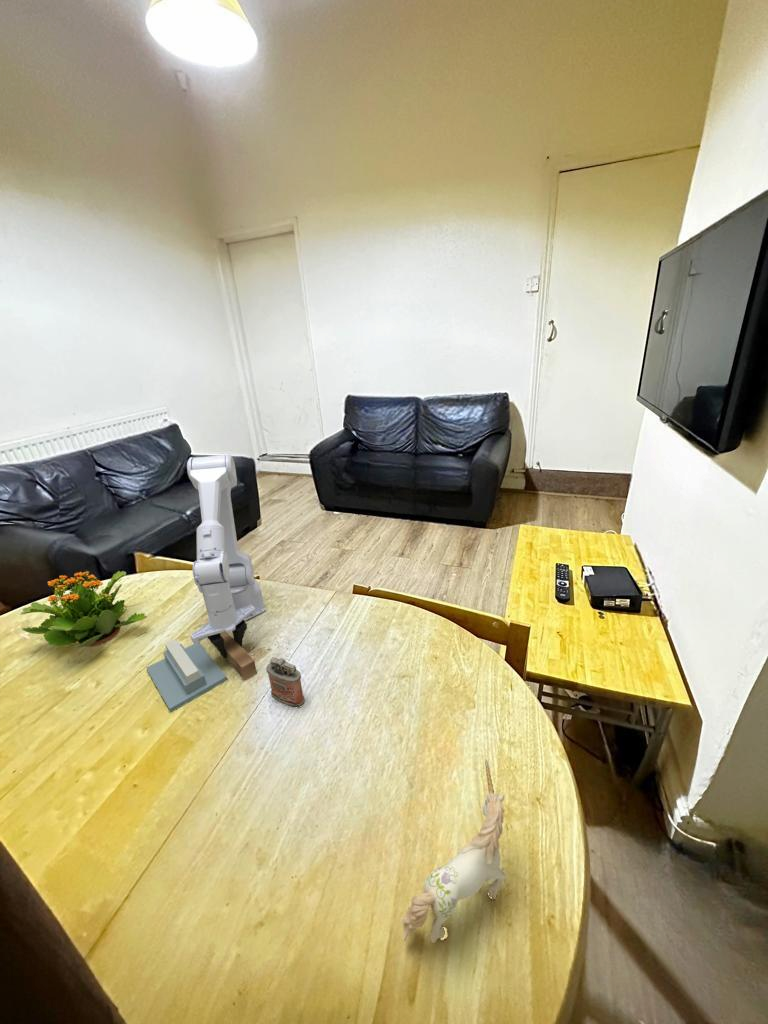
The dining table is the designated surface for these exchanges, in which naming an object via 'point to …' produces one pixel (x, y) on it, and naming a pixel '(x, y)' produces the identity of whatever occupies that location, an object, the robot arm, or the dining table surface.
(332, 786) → the dining table surface
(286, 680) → the lighter
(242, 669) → the walnut bar
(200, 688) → the ridge stand
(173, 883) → the dining table surface
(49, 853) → the dining table surface
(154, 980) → the dining table surface
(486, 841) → the unicorn figurine
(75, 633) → the potted flower
